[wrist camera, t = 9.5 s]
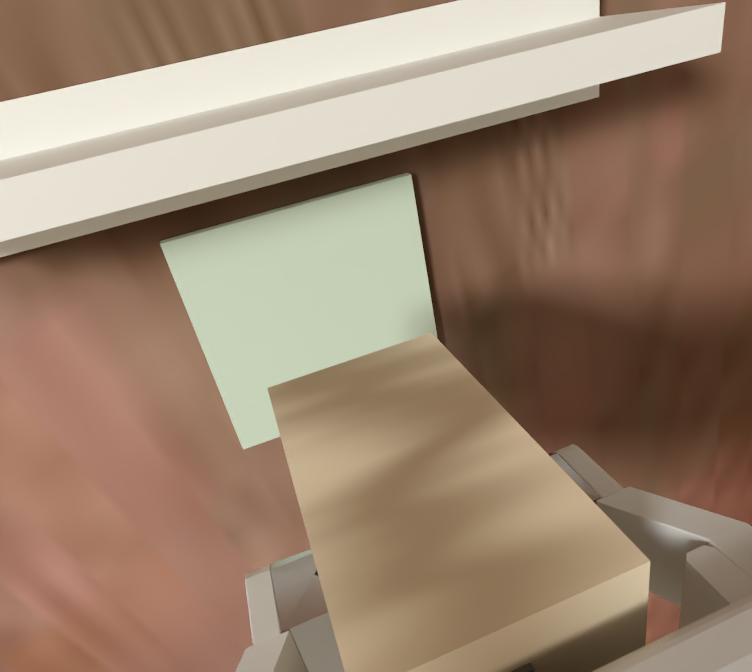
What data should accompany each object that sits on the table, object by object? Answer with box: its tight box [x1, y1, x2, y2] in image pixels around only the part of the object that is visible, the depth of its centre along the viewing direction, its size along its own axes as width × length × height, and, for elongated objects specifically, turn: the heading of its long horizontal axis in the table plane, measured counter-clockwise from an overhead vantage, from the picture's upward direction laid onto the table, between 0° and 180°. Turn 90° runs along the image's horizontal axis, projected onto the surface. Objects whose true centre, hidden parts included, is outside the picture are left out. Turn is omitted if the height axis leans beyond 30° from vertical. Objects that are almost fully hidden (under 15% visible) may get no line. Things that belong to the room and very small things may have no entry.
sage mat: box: [160, 173, 438, 449], centre depth 22 cm, size 9×9×1 cm
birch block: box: [267, 333, 650, 672], centre depth 12 cm, size 4×4×8 cm
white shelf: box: [0, 0, 726, 257], centre depth 15 cm, size 24×4×6 cm, turn 101°
